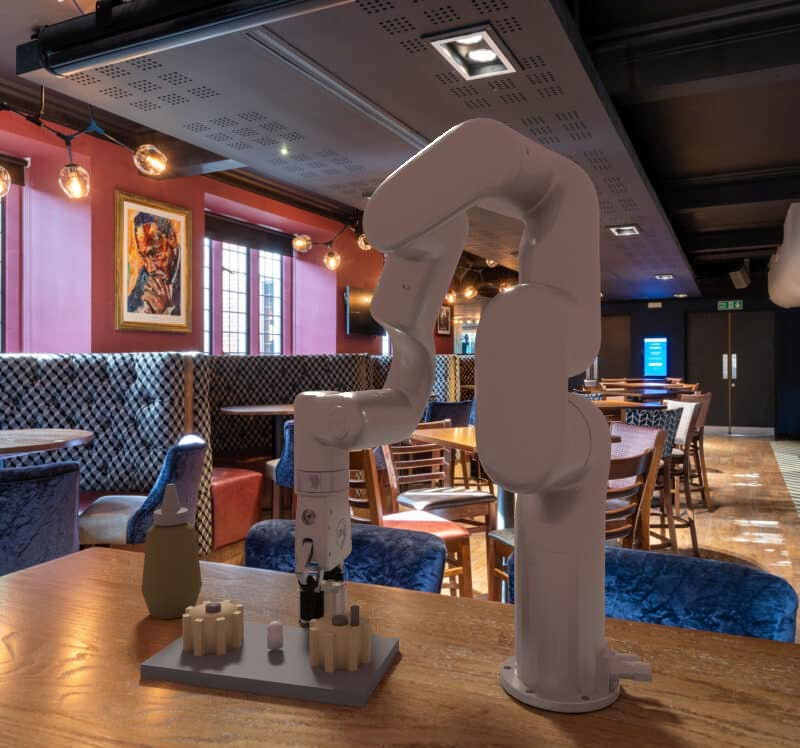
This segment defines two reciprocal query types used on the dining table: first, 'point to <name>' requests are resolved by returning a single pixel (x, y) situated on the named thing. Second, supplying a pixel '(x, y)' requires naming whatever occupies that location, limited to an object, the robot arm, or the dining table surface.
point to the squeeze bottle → (171, 560)
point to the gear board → (276, 655)
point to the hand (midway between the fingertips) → (322, 609)
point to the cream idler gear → (331, 598)
